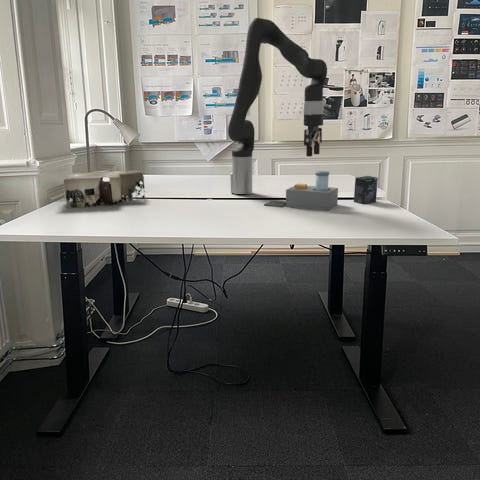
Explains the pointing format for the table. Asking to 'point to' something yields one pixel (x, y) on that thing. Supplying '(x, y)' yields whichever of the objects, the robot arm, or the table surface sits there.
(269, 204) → the mat
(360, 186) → the box
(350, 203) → the table surface
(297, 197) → the housing
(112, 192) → the beige boxy piece
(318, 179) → the cartridge
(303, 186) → the orange rectangular block
